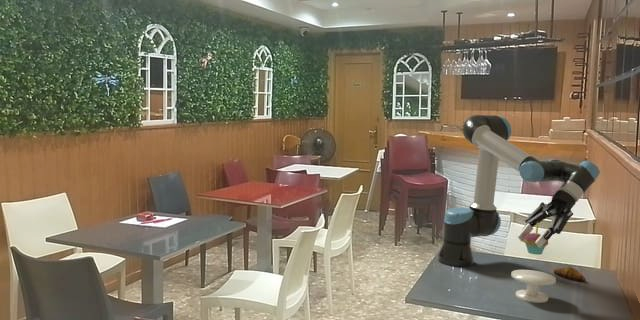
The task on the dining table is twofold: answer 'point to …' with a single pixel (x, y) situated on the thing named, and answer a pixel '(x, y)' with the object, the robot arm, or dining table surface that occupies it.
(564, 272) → the croissant
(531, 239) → the cupcake
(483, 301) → the dining table surface
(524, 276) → the cake stand
